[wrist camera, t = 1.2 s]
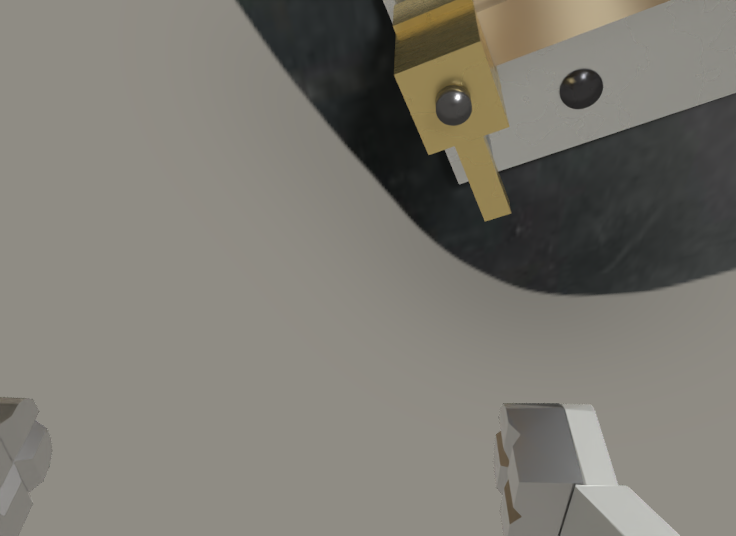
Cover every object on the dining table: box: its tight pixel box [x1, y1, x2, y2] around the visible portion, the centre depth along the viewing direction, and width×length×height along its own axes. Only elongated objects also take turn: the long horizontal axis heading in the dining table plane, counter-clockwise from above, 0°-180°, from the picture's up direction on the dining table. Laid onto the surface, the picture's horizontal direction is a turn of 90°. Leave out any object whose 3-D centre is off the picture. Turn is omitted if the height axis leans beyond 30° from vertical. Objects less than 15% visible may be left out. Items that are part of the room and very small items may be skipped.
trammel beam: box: [473, 0, 670, 67], centre depth 33 cm, size 26×9×8 cm, turn 114°
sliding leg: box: [393, 0, 511, 221], centre depth 36 cm, size 4×10×9 cm, turn 24°
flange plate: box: [383, 0, 736, 184], centre depth 37 cm, size 27×13×1 cm, turn 114°
